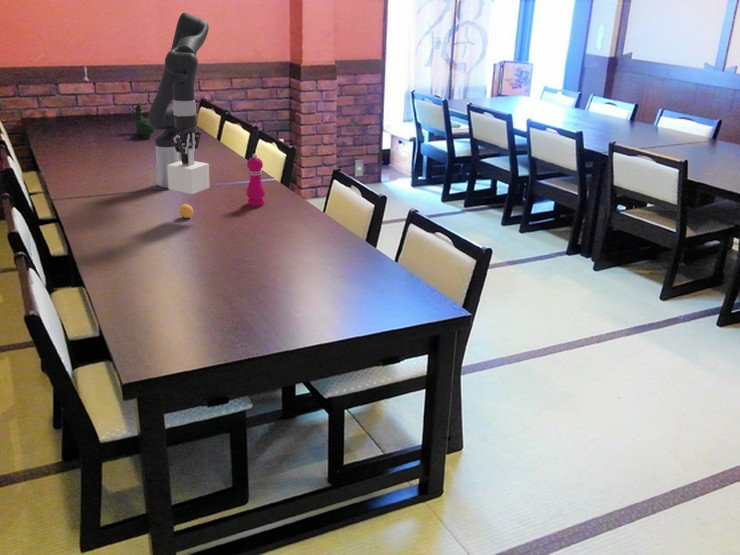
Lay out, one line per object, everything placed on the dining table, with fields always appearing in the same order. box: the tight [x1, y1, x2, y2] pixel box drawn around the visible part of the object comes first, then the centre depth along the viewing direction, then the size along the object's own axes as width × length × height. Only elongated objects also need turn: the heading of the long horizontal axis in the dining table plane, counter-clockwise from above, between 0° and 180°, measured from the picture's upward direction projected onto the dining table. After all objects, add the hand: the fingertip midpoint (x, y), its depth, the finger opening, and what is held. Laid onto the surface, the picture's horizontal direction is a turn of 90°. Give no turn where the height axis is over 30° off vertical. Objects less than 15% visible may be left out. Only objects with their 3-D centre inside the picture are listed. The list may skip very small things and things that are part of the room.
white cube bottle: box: [167, 147, 210, 195], centre depth 242 cm, size 10×10×14 cm
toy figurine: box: [134, 102, 155, 140], centre depth 381 cm, size 9×19×25 cm
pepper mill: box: [246, 153, 266, 207], centre depth 266 cm, size 7×7×20 cm
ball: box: [178, 203, 194, 219], centre depth 249 cm, size 5×5×5 cm
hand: (188, 162), depth 241 cm, fingers closed on white cube bottle, 3 cm apart
